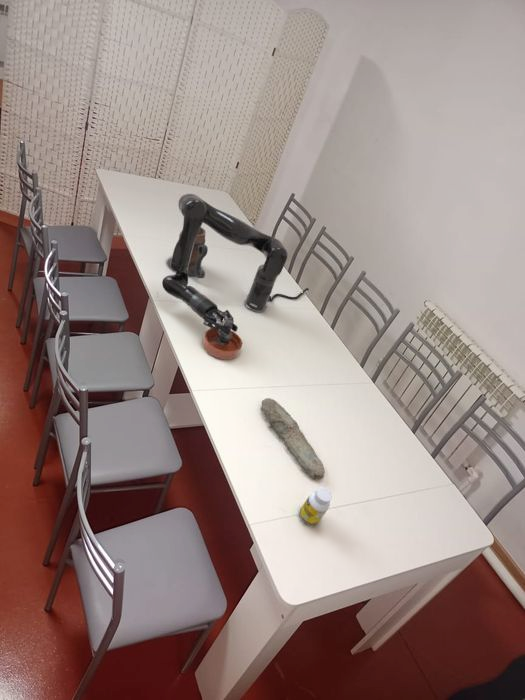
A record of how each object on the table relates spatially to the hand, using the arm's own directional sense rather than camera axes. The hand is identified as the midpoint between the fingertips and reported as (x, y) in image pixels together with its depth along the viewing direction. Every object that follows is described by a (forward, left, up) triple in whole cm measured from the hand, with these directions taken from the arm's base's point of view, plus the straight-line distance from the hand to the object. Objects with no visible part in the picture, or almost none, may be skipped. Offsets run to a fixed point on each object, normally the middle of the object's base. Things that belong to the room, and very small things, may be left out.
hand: (233, 331), depth 187 cm
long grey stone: (+14, +44, -11) cm, 48 cm away
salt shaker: (0, -3, -7) cm, 8 cm away
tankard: (-27, -51, -11) cm, 58 cm away
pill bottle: (+33, +66, -11) cm, 75 cm away
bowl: (0, -3, -10) cm, 11 cm away
